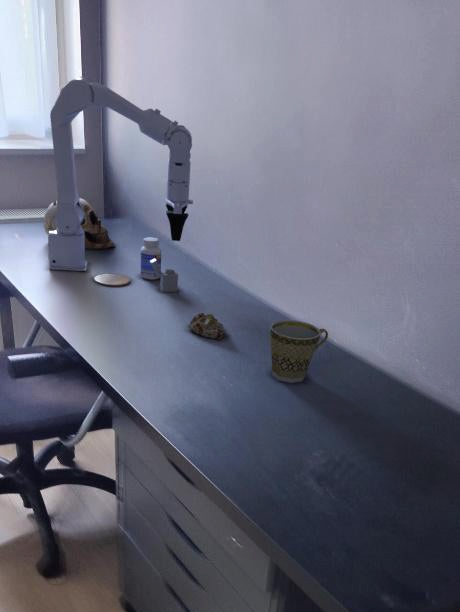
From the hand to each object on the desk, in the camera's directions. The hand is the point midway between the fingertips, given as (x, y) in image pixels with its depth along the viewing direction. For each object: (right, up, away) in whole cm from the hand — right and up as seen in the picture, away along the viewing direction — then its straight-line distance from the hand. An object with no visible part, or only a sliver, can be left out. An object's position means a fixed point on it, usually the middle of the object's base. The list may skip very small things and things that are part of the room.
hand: (175, 236), depth 187 cm
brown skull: (-30, +7, +22) cm, 38 cm away
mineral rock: (+9, -32, -26) cm, 42 cm away
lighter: (-3, -16, -6) cm, 17 cm away
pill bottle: (-7, -10, +3) cm, 12 cm away
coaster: (-16, -12, -3) cm, 21 cm away
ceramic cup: (+28, -45, -42) cm, 67 cm away
